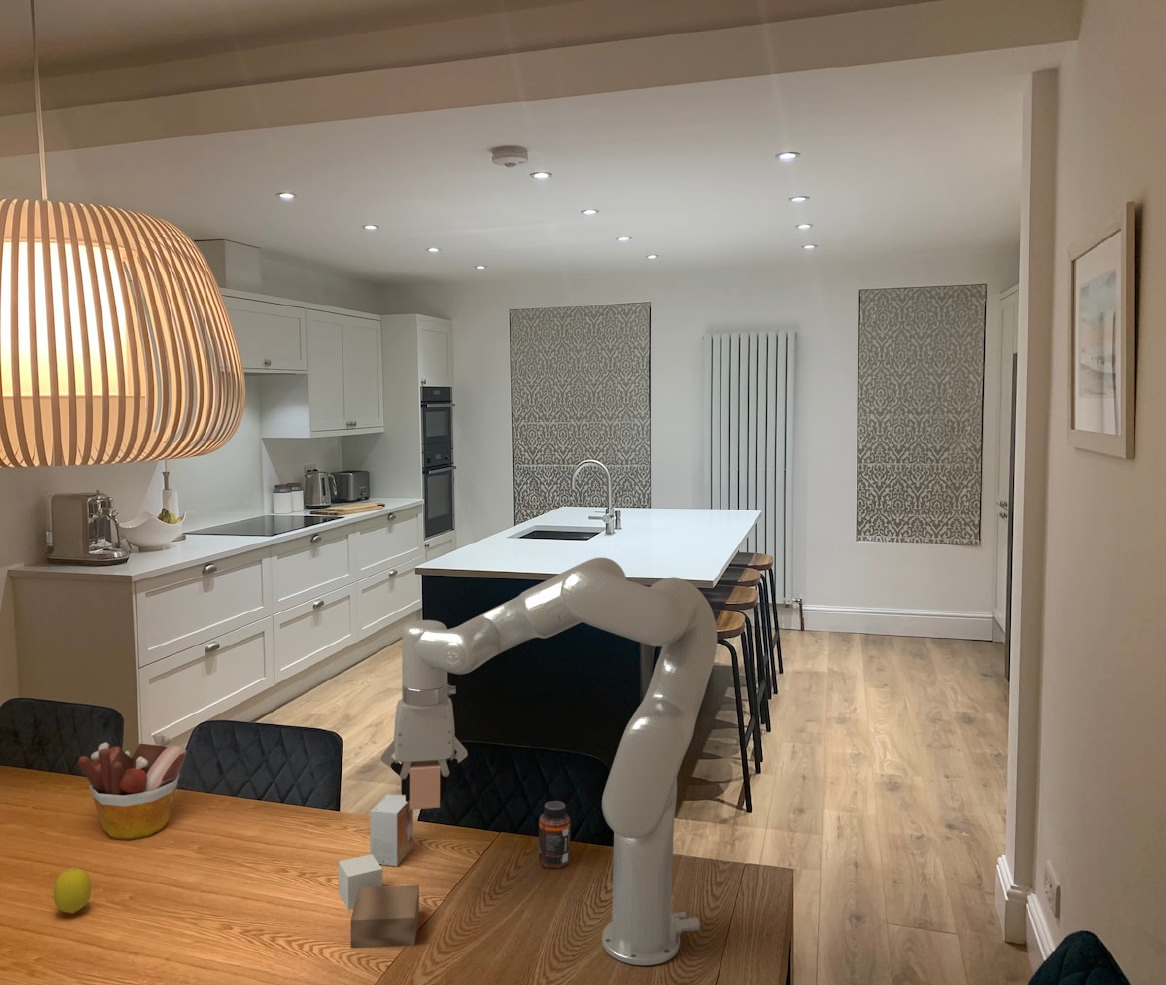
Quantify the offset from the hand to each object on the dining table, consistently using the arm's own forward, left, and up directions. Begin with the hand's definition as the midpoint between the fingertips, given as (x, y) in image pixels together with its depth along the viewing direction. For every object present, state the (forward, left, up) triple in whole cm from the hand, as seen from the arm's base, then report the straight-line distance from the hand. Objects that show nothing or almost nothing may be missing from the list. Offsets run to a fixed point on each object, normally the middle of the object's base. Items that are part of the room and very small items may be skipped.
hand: (424, 796), depth 156 cm
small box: (+5, -19, -20) cm, 28 cm away
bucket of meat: (+55, -41, -20) cm, 71 cm away
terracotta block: (0, 0, -1) cm, 1 cm away
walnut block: (+7, +6, -20) cm, 22 cm away
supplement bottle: (-25, -10, -20) cm, 34 cm away
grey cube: (+11, -5, -20) cm, 23 cm away
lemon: (+58, -10, -20) cm, 62 cm away
